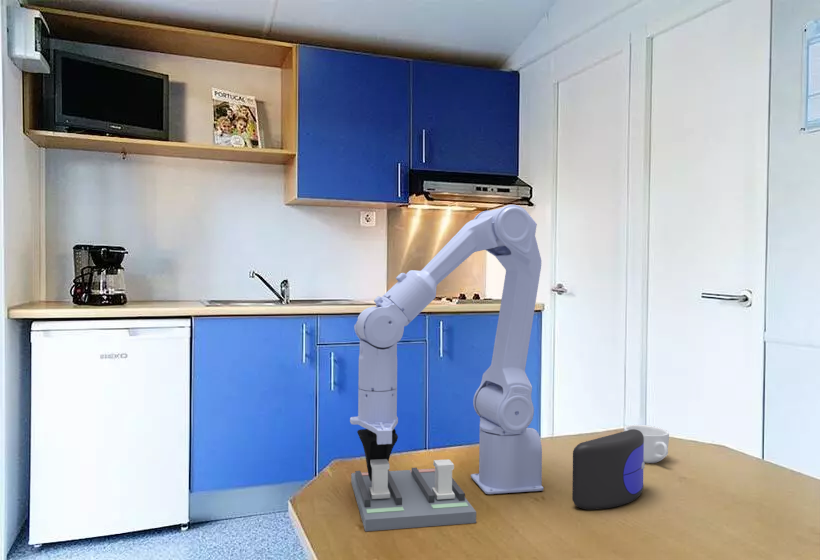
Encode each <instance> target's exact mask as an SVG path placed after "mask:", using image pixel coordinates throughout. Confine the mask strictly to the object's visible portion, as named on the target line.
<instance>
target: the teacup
mask: <svg viewBox="0 0 820 560" xmlns="http://www.w3.org/2000/svg"><path fill="white" fill-rule="evenodd" d="M631 429H635V430H639V431H640V432H641V433H642V434H643V437H644V463H645V464H656V463H659V462H661V461H662V460H663V459H664V458H666V457H667V456H668V454H669V441H670V433H669V431H668V430H666V429H664V428H662V427H658V426H652V425H646V424H628V425H625V426H624V427H623V432H624V431H627V430H631Z"/></svg>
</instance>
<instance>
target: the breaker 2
mask: <svg viewBox="0 0 820 560" xmlns="http://www.w3.org/2000/svg"><path fill="white" fill-rule="evenodd" d="M432 464H433V466H434V469H435V488H432V492H433V494H434V495H435V497H436V499H437V500H439V499H454V498H455V494H454V492H453V491H452V478H453V470H454V469H455V464H454V463H453V461H451V459H433V463H432Z"/></svg>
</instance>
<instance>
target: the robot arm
mask: <svg viewBox="0 0 820 560" xmlns="http://www.w3.org/2000/svg"><path fill="white" fill-rule="evenodd" d="M537 227H538V224H537V222H536V221H535V220H534V218H533V217H532V216H531V215H530V214H529V212H528V211H527V210H526V209H525V208H524V207H522V206H520V205H516V204H507V205H504V206H503V207H500V208H496V209H491V210H490V209H487V210H484V211H481V212H479V213H478V214H477V215H476V216H474V218H473V219H471V220H469V221H468V222H466V223H465V224H464V225H463V226H462V227H461V228H460V229H459V231H458V232H457V233H456V234H454V236H453V237H452V238H450V240H449V241H448V242H447V243H446V244H445V245H444V246H443V247H442V248H441V249H440V251H438V252H437V253H436V254H435V255H434V256H433V258H432V259H431V260H430V261H429V262H428V263H427V264H426V265H425V266H424V267H423V268H422V269H421V270H417V269H416V270H414V269H413V270H412V269H411V270H408V272H406V273H405V272H401V273H399V274H398V275H397V276H396V277H395V279H396V280H397V282H396V283H394V284H393V285H392V286H391V288H389V290H387V291H386V292H385V293H384V294H383V295H382V296H379V295H378V296H376V297H375V298H374V300H373V302H374V303H375V305H376V306H369V307H366V308H365V309H363V310H362V311H361V312H360V313H359V315H358V317H357V320H356V322H355V324H354V326H353V328H354V332H355V335H356V336H357V338H358V339H359V348H358V349H359V355H358V387H357V388H358V389H357V391H358V392H357V393H358V394H357V395H358V396H357V397H358V400H357V401H358V405H357V406H358V408H357V409H358V410H357V416H351V417H350V418H349V422H350V425H358V426H360V427H362V428H363V429H361V428H360V429H358V430H357V431H356V432H357V435H358V438H359V440H360V442H361V444H362V447H363V451H364V456H365V463H366V467H367V468H366V469H367V470H366V471H367V472H368V475H369V478H370V481H372V467H371V465H370V460H376V459H387V460H388V462H389V463H390V457H391V453H392V451H393V449H394V446H395V445H396V443H397V441H398V438H399V435H398V434H397V430H396V429H395V428H396V427H397V425H398V423H399V417H398V416H397V414H398V412H397V411H398V407H397V406H398V356H397V355H398V342H400V341H401V339H402V338H403V335H404V330H405V327H407V326H408V325H409V324H410V323H411V322H412V321H413V320H414V319H415V318H416V317H417V316H418V315H420V314H421V313H422V312H423V311H424V310H425V309H426V308H427V306H429V305H430V304H431V303H432V302H433V301H434V300H435V299H436V295H437V286H438V285H439V284H440V283H441V282H442V281H443V280H445V278H447V277H448V276H449V275H450V274H451V273H453V271H455V270H456V269H457V268H458V267H459V266H461V264H463V262H465V261H466V260H467V259H468V258H470V256H472V255H473V254H474V253H478V252H481V251H482V252H483V251H486V252H488V253H490V255H492V256H494V257H495V258H496V259H497V261H498V262H499V263H500V264H501V266H502V267H503V269H505V275H504V282H503V288H502V293H501V295H502V296H501V300H500V301H501V302H500V308H499V313H498V319H497V326H496V330H495V331H496V332H495V338H494V345H493V350H492V351H493V352H492V358H491V362H490V363H491V364H490V366H489V367H488V368H487V369H486V370H485V371H484V372H483V373H482V376H481V377H482V378H481V380H480V381H481V382H480V385H479V387H477V389H476V391H475V393H474V395H473V399H472V401H473V402H472V404H473V408H474V411H475V413H476V414H477V415H478V417H479V443H478V446H479V449H478V450H479V453H478V454H479V456H478V457H479V458H478V459H479V460H478V462H479V465H478V467H479V468H478V473H471V474H470V478H471V479H472V480H473V481H474V482H475V483H476V485H478V487H479V488H480V489H481V490H482V491H483V493H485V494H487V495H494V494H495V495H496V494H497V495H498V494H508V493H509V494H510V493H525V492H540V491H541V492H542V491H544V486H542V483H543V482H542V479H543V477H542V475H543V473H542V472H543V471H542V469H543V464H542V463H543V447H542V446H543V445H542V441H541V437H540V435H539V432H538V430H536V429H535V428H533V427H529V426H531V425H530V424H531V423H532V421H533V419H534V413H535V407H534V403H533V401H532V391H533V386H532V383H531V382H530V379H529V378H528V375H527V373H526V365H527V360H528V353H529V347H530V346H529V345H530V340H531V333H532V327H533V321H534V316H535V315H534V314H535V308H536V301H537V297H538V289H539V284H540V277H541V270H542V257H541V253H540V249H539V247H538V241H537V236H536V233H537V232H536V231H537Z"/></svg>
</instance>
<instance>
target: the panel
mask: <svg viewBox="0 0 820 560" xmlns="http://www.w3.org/2000/svg"><path fill="white" fill-rule="evenodd" d="M350 478H351V480H350V483H351V488H352V490H353V493H354V496H355V500H356V503H357V508H358V511H359V513H360V514H359V515H360V518H361V521H362V525H363V528H364V532H374V531H375V532H376V531H386V530H387V531H388V530H400V529H413V528H427V527H428V528H429V527H438V526H439V527H441V526H451V525H463V524H465V525H467V524H477V511H476V509H475V508H474V507H473V506H472V504H471V503H470V501H468V499H467V498H466V497H465V496H466V495H465V494H466V493H465V492H464V490H463V489H462V488H461V487H460V485H459V484H458V483H457V482H456V480H455V479H454V478H453V477H452V491H453V492H454V494H455V498H454V499H439V500H437V499H436V497H435V495H434V494H433V492H432V488H435V468H421V469H420V468H419V469H418V468H417V467H411V469H403V470H390V469H388V490H389V492H390V498H383V499H372V498H371V495H370V492H369V487H372V481H370V478H369V475H368V471H367V472H362V471H361V470H355V471H354V472H352V473H351V477H350Z"/></svg>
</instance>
